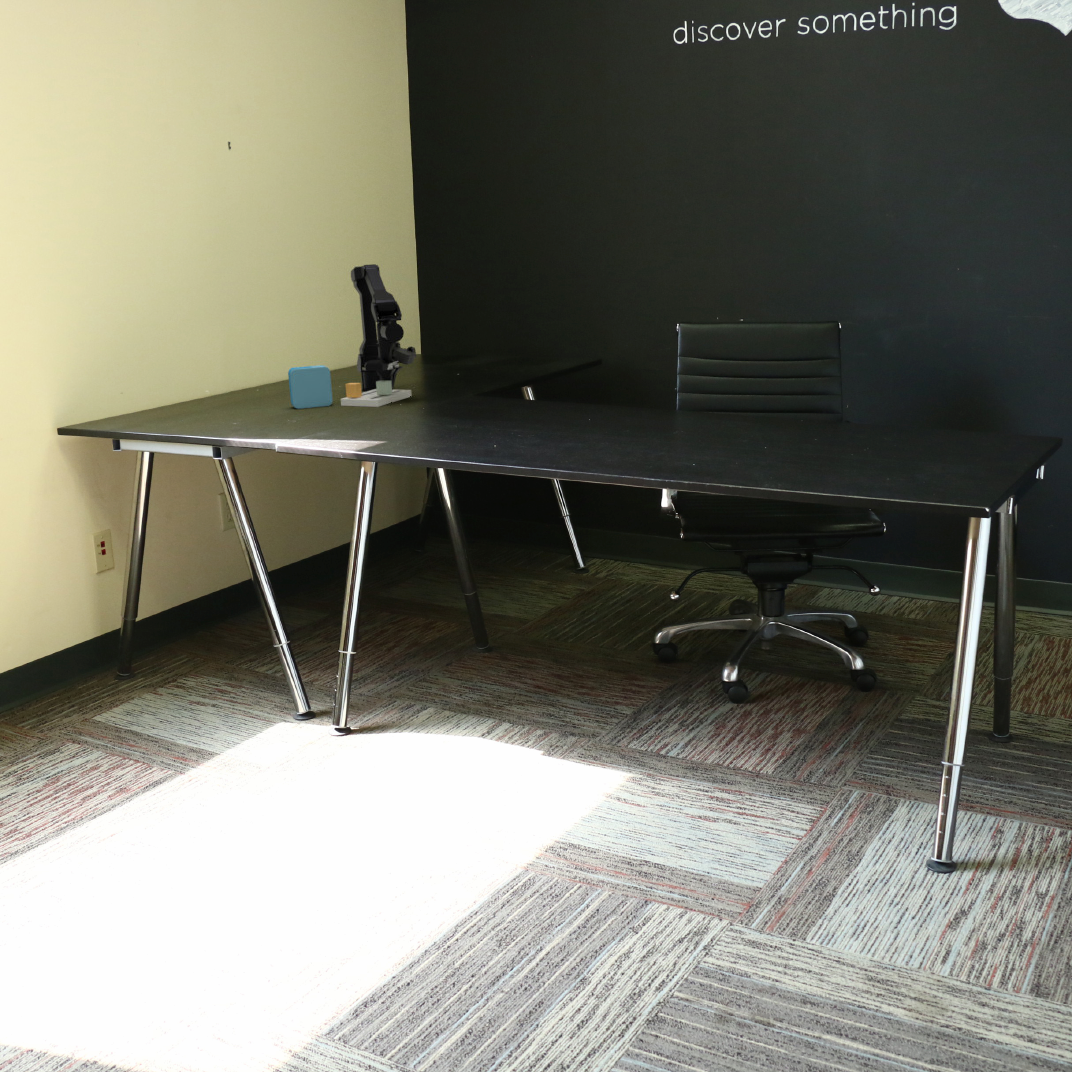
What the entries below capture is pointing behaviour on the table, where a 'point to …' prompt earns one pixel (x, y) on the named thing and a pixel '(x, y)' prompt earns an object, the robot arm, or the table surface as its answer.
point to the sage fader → (384, 387)
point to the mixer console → (375, 398)
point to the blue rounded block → (310, 386)
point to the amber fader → (353, 390)
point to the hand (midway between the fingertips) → (390, 390)
